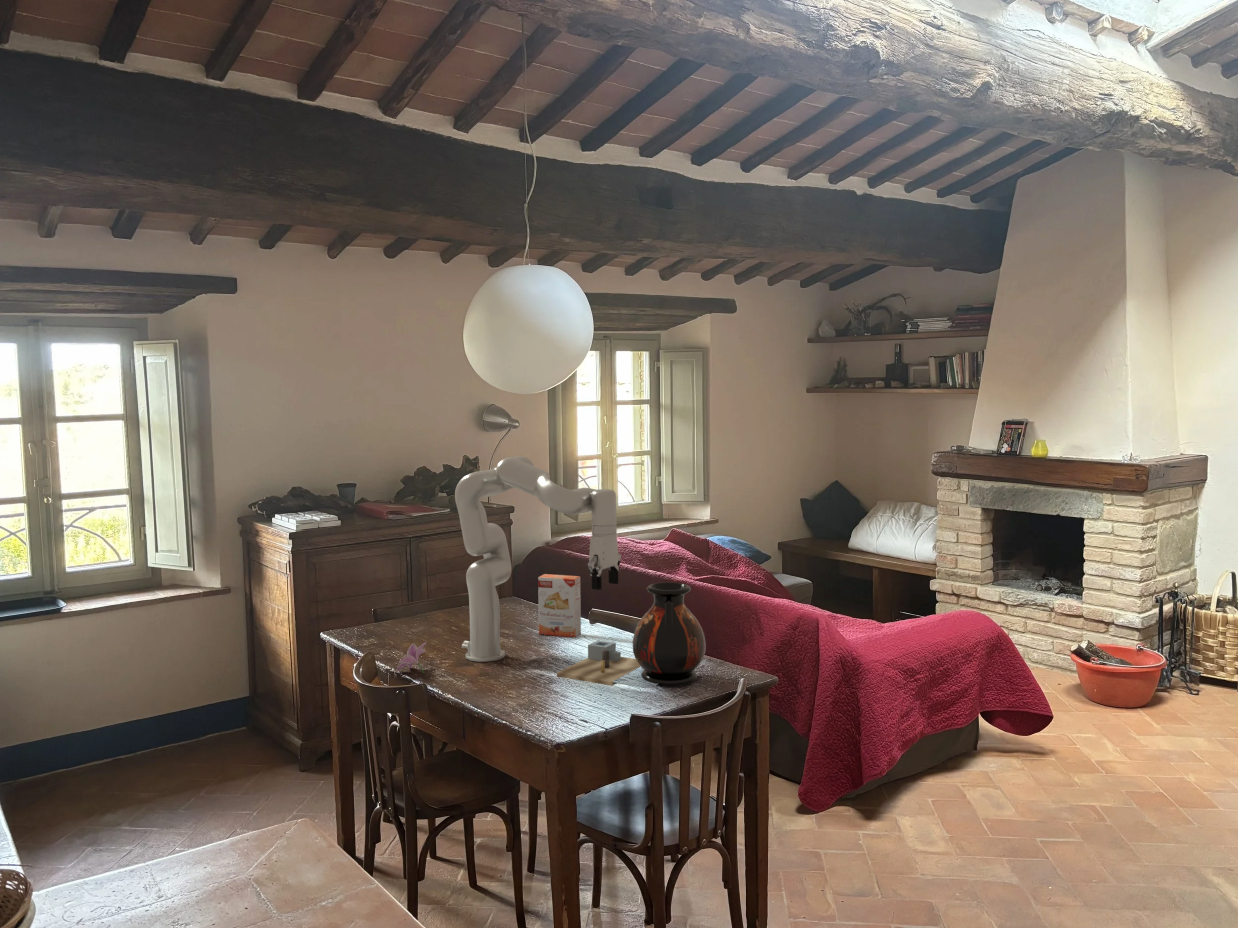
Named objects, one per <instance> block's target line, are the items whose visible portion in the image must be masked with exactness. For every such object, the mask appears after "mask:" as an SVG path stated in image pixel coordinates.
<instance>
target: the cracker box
mask: <svg viewBox="0 0 1238 928" xmlns="http://www.w3.org/2000/svg"><path fill="white" fill-rule="evenodd" d="M537 579H538V580H537V582H538V583H537V584H538V593H537V595H538V598H537V599H538V635H541V634H544V635H545V636H555V637H563V638H564V637H566V638H574V637H575V638H576V637H578V636H579V635H581V633H582V627H581V626H582V624H581V623H582V621H581V619H582V617H581V616H582V614H581V613H582V612H581V608H582V607H581V604H582V603H581V602H582V601H581V600H582V599H581V595H582V594H581V588H582V587H581V576H579V575H578V576H577V575H565V574H553V573H552V574H547V573H544V574H542V575H540V576H538V577H537Z"/></svg>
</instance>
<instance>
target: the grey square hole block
mask: <svg viewBox="0 0 1238 928" xmlns="http://www.w3.org/2000/svg"><path fill="white" fill-rule="evenodd" d="M616 645H617V644H616V642H612V641H607V640H606V641H605V640H598V639H597V640H596V641H594V642H591V643H590V644H588V645H587V658H588V659H591V660H598V661H601V660H602V650H609V660H613V661H619V660H621V657H622V652H621V651H617V647H616Z"/></svg>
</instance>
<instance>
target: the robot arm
mask: <svg viewBox="0 0 1238 928" xmlns="http://www.w3.org/2000/svg"><path fill="white" fill-rule="evenodd" d="M550 478H551V476H550V473H549V472H548V471H546V470H543V469H541V468H539V467H538V466H537V467H536V466H535V465H534V463H533V461H532V460H531V459H529V458H528V457H526V456H524V455H523V456H522V455H515V456H510V457H509V456H508V457H505V458H503V459H501V460H499V462H497V465H496V467H494V468H492V469H486V470H479V471H474V472H471V473H468V474H466V475H464V476H463V477H462V478H461V479H460V480H459V481H458V483H457V485H456V487H455V491H454V500H455V505H456V509H457V512H458V517H459V524H460V528H461V535H462V538H463V539H462V540H463V544H464V548H465V550H466V552H467V553H468V554H469V555H470V556H472V557H480V556H483V559H478V560H477V561H474V562H473V563H471V564H470V565H469V567H468V569H467V570H466V574H465V579H466V580H465V581H466V585H467V586H466V587H467V591H468V600H469V601H468V603H469V604H468V605H469V606H468V607H469V608H468V609H469V610H468V611H469V640H464V641H463V642H462V644H461V648H462V649H467V652H465V659H467V660H468V661H471V662H477V663H478V662H479V663H484V662H485V663H486V662H487V663H488V662H494V661H498V660H502V659H503V658H504V657H506V652H505V651H504V650H503V649H501V632H500V631H501V628H500V627H501V626H500V625H501V624H500V620H501V619H500V599H499V594H498V591H497V587H496V586H498V585H502V584H503V583H505V582H507V581H508V580H509V579H510V577H511V575H512V562H511V555H510V551H509V547H508V546H509V545H508V541H507V538H506V537H507V536H506V533H505V531H504V530H503V529H502V527H501V526H500V525H498V524H496V523H494V522H488V519H487V517H488V516H487V513H486V509H485V507H484V505H483V504H482V502H481V499H483V498H488V497H493V496H494V497H495V496H497V495H501V494H503V493H505V492H507V491H509V490H512V489H513V488H514V489H517V490H520V491H521V492H524V493H526V494H528V495H531V496H533V497H535V498H536V499H537V500H539V501H540V503H542V504H543V505H544V506H546V507H548V508H550V509H552V510H555V511H557V512H558V513H559V512H560V513H561V514H565V515H568V516H577V515H579V514H584V513H588V512H591V536H590V537H591V538H590V540H589V541H590V542H589V556H588V560H589V561H588V563H587V567H588V571H589V575H590V577H591V589H592V590H602V589H603V588H602V586H603V584H602V581H603V580H602V576H601V574H602V572H603V570H606V569H608V583H609V584H613V585H618V584H619V570H620V564H621V558H622V554H621V553H619V546H618V538H617V535H618V534H617V533H618V531H617V529H618V528H617V525H618V524H617V493H616V492H615V490H613V489H608V488H601V489H600V488H599V489H594V488H589V487H580V488H575V489H568V488H566V487H563V486H561V485H559V484H557V483H555V482H553V481H552V480H551V479H550Z"/></svg>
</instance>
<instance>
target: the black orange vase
mask: <svg viewBox="0 0 1238 928" xmlns="http://www.w3.org/2000/svg"><path fill="white" fill-rule="evenodd" d="M691 589H692V588H691V586H690V585H688V584H686V583H679V582H656V583H652V584H649V585H648V586H647V587H646V590H647V592H648V593H649V594H652V596H653V603H652V605H651V607H650V608H649V609H648V611H646V613H645V614H643V616H642V617H641V619H640V620H639V621H638V623H637V625H636V627H635V630H634V633H633V638H632V653H633V656H634V659H636V661H637V662H638V664H639V665H640V668H642V669H643V670H642V672H641V673H640V676H641V679H643V680H644V681H646V682H649V683H652V684H655V685H656V686H657V687H661V688H663V687H664V688H676V686H678V687H683V685H684V686H688V685H690V684H693V683H694V682H695V681H696V680H697V678H698V674H697V672H696V671H695V670H696V669H697V668H698V667H699V666H700V665H701V663H702V662H703V660H704V657H705V654H706V647H707V645H706V644H707V643H706V637H705V632H704V630H703V628H702V626H701V623H700V621H699V620H698V619H697V617H696V616H695V614H693V613H692V611H690V609H689V608H688V607H687V606H686V604H685V601H684V600H685V595H686V594H689V593H690V592H691ZM687 684H688V685H687Z"/></svg>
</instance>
